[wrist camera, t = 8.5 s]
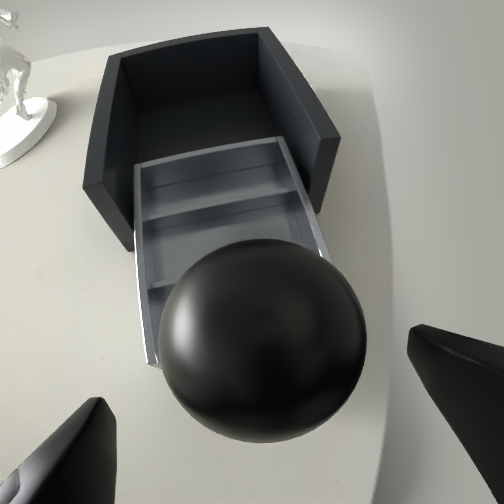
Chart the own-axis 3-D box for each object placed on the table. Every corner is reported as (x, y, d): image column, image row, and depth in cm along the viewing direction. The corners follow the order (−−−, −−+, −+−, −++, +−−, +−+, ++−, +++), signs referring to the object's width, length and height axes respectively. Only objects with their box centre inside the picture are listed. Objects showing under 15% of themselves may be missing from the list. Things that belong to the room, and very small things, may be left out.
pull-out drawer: (353, 385, 13) (558, 324, 3) (173, 426, 12) (-24, 462, 2) (280, 162, 18) (294, -24, 8) (144, 189, 17) (75, 14, 7)
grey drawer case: (319, 213, 18) (341, 136, 13) (128, 252, 17) (81, 188, 12) (267, 91, 23) (268, 26, 18) (129, 117, 22) (108, 55, 17)
